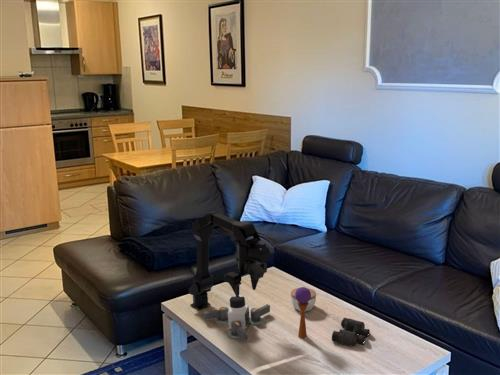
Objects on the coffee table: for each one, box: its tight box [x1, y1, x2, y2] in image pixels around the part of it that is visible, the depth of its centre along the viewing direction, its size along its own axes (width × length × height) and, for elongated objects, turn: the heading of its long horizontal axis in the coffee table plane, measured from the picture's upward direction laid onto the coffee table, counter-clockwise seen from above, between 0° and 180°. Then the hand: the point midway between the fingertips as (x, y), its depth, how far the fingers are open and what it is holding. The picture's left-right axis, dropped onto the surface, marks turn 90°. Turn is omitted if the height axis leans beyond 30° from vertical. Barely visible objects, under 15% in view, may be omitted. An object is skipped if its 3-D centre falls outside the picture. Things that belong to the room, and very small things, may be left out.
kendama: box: [295, 286, 311, 339], centre depth 186 cm, size 6×6×20 cm
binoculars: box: [331, 317, 371, 347], centre depth 187 cm, size 11×16×6 cm
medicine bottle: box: [228, 294, 250, 330], centre depth 196 cm, size 7×7×12 cm
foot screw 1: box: [203, 306, 230, 321], centre depth 200 cm, size 10×4×4 cm, turn 105°
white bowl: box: [290, 287, 317, 313], centre depth 210 cm, size 11×11×9 cm
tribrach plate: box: [214, 316, 264, 340], centre depth 199 cm, size 19×20×1 cm
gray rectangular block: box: [230, 321, 248, 341], centre depth 187 cm, size 10×4×4 cm, turn 25°
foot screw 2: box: [249, 303, 271, 322], centre depth 202 cm, size 10×4×4 cm, turn 135°
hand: (245, 293), depth 192 cm, fingers open, 9 cm apart
